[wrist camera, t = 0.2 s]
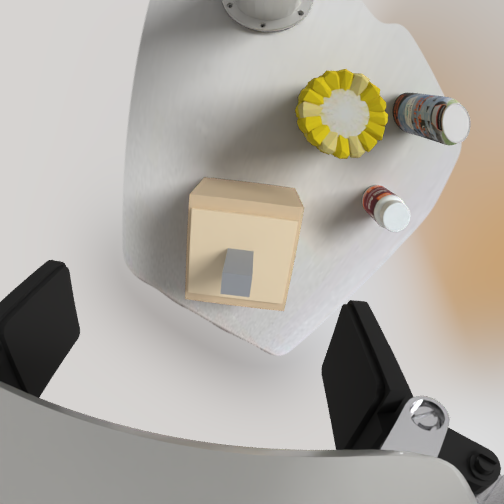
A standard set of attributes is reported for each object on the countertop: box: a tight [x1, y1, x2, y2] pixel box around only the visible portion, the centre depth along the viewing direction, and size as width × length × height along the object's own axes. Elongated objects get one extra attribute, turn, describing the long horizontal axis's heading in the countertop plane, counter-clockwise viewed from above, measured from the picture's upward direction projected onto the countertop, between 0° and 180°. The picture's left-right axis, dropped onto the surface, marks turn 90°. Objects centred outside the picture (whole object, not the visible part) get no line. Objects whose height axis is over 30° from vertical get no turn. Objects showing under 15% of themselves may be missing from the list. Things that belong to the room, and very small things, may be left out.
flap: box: [188, 208, 298, 304], centre depth 35 cm, size 11×12×6 cm
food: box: [295, 69, 388, 159], centre depth 33 cm, size 15×12×10 cm
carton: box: [185, 177, 304, 311], centre depth 42 cm, size 14×13×10 cm
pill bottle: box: [362, 185, 410, 232], centre depth 41 cm, size 5×5×8 cm
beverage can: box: [393, 93, 470, 145], centre depth 33 cm, size 6×7×12 cm
